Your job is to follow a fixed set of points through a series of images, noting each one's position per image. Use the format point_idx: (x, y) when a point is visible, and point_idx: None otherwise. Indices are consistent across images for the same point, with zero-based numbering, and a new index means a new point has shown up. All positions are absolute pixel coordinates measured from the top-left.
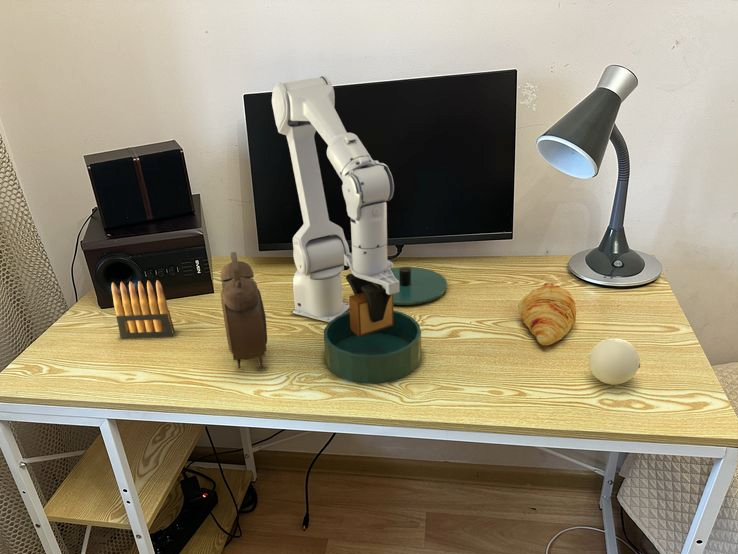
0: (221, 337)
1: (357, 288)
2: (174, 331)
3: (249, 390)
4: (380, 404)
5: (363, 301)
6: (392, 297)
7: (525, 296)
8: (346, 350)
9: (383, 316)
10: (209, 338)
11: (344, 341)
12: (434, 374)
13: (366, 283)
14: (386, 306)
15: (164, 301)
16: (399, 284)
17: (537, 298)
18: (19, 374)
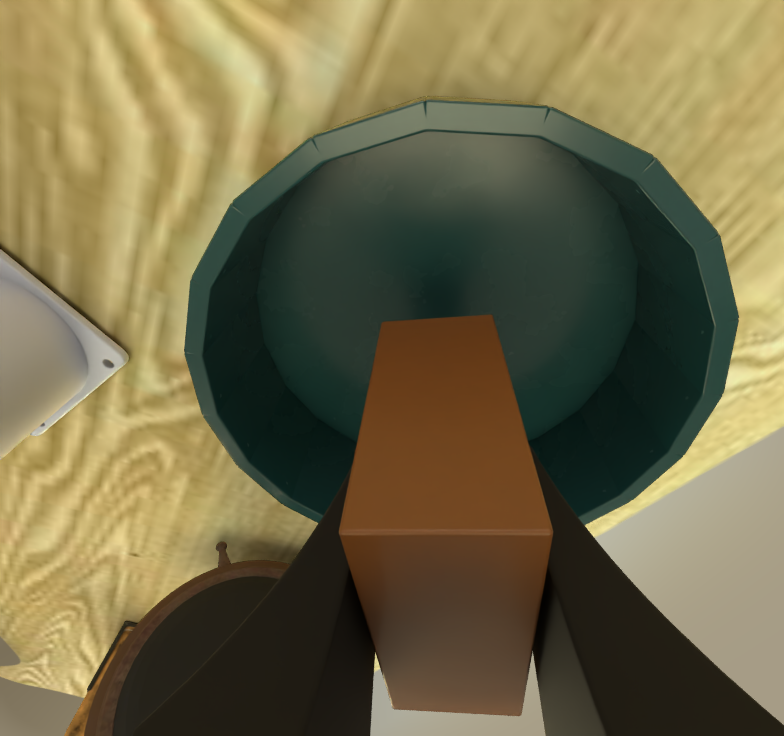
0: (167, 577)
1: (367, 729)
2: (126, 624)
3: None
4: (711, 424)
5: (524, 695)
6: (537, 484)
7: None
8: (360, 393)
9: (537, 460)
10: (167, 591)
11: (296, 376)
12: (751, 148)
13: (346, 725)
14: (578, 519)
15: (82, 733)
16: None
17: None
18: None
